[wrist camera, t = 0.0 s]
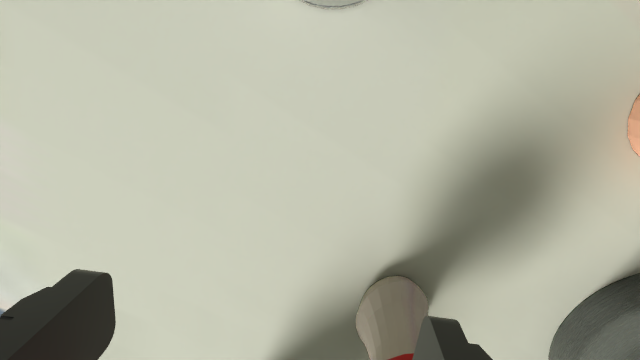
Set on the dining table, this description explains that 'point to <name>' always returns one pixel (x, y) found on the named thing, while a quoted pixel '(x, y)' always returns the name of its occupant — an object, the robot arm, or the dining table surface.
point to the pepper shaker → (635, 126)
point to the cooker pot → (602, 325)
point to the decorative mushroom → (391, 318)
